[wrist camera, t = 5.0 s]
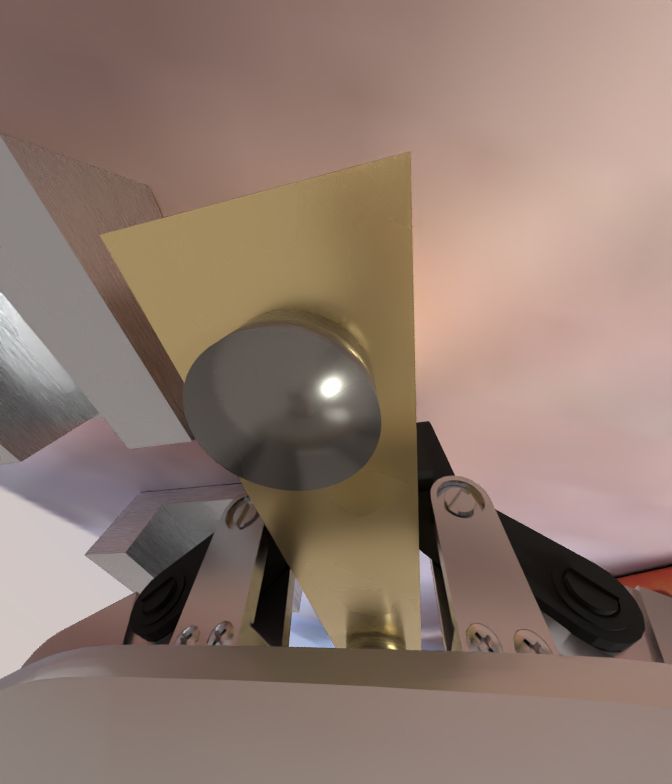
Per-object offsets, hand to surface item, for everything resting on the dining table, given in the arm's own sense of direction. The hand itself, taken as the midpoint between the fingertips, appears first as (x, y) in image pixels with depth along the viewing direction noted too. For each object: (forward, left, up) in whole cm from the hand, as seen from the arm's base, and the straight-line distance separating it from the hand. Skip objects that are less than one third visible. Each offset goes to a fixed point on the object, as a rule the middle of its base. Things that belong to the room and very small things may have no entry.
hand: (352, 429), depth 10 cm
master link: (0, 0, -1) cm, 1 cm away
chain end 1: (-6, -9, -1) cm, 11 cm away
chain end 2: (+7, -9, -1) cm, 12 cm away
